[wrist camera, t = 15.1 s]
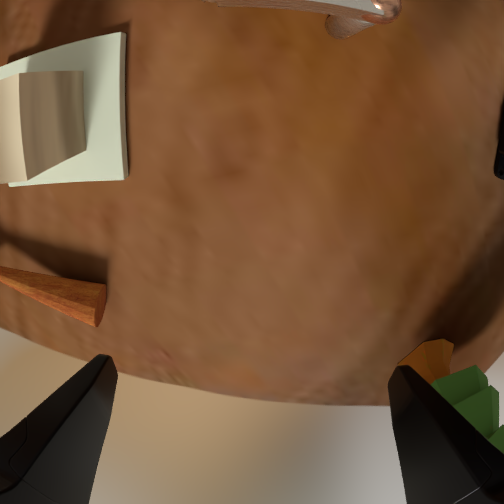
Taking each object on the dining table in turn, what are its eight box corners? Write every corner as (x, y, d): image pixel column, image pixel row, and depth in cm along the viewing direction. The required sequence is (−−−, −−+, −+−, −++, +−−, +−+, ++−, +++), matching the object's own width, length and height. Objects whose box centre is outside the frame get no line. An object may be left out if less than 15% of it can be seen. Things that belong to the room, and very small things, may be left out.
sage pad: (126, 33, 14) (120, 31, 13) (128, 176, 18) (123, 179, 17) (6, 67, 14) (-1, 67, 13) (15, 183, 18) (9, 186, 17)
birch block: (83, 70, 14) (18, 73, 9) (86, 150, 16) (27, 181, 11) (23, 85, 14) (-42, 98, 9) (28, 157, 16) (-32, 187, 11)
